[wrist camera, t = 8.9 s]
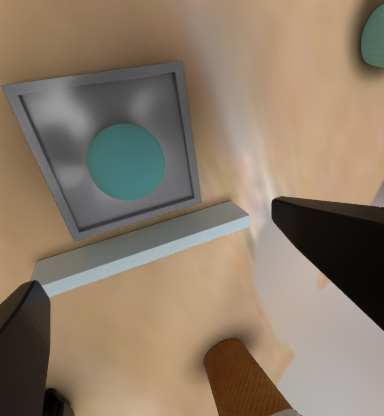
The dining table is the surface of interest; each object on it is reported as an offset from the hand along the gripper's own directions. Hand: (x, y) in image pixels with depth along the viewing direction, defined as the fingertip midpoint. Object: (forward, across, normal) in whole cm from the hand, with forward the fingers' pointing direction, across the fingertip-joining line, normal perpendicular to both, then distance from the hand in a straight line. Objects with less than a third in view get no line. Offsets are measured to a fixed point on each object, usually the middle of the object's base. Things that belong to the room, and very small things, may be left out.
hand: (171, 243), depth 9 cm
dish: (+12, 0, -1) cm, 12 cm away
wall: (+12, 0, +6) cm, 14 cm away
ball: (+9, 0, -1) cm, 9 cm away
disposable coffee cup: (+12, -6, +30) cm, 33 cm away
